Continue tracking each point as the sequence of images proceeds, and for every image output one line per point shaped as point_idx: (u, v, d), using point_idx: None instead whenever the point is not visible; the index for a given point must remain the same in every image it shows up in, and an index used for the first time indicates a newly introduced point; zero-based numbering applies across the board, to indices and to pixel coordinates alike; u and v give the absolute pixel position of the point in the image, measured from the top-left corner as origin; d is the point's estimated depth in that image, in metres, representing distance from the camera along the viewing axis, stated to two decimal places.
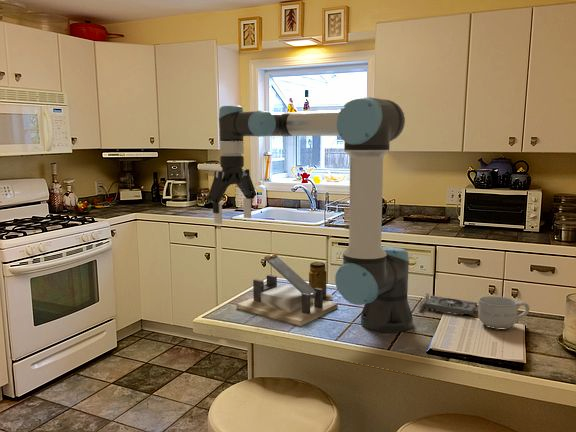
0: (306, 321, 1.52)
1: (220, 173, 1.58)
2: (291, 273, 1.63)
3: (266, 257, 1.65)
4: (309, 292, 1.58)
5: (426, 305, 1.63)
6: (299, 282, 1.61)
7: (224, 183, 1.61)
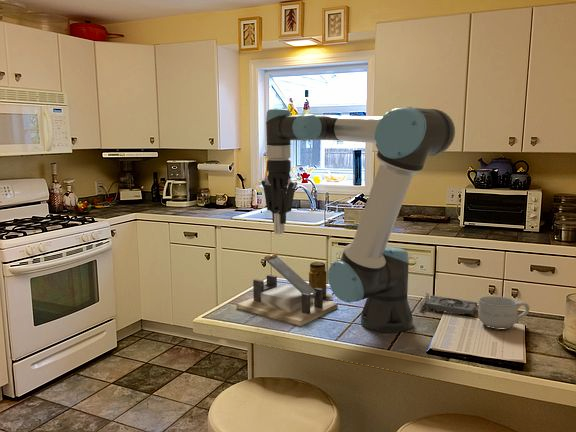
0: (306, 321, 1.52)
1: (262, 183, 1.64)
2: (291, 273, 1.63)
3: (266, 257, 1.65)
4: (309, 292, 1.58)
5: (426, 305, 1.63)
6: (299, 282, 1.61)
7: None
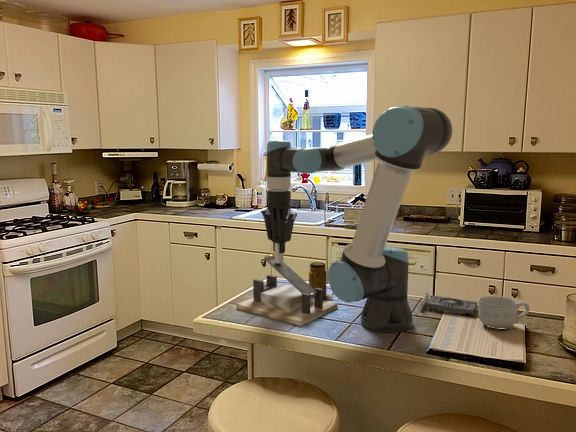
0: (306, 321, 1.52)
1: (262, 212, 1.65)
2: (291, 273, 1.63)
3: (266, 257, 1.65)
4: (309, 292, 1.58)
5: (427, 305, 1.63)
6: (299, 282, 1.61)
7: None
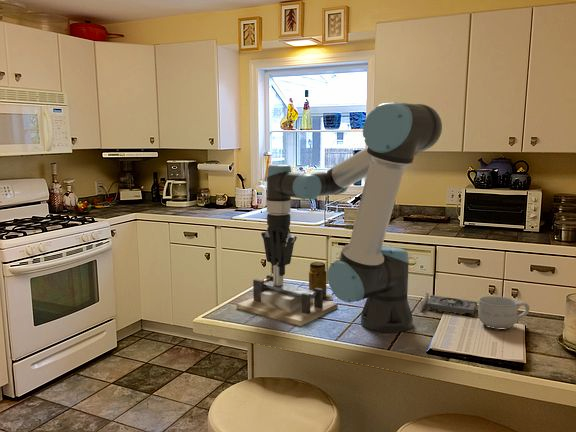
0: (306, 321, 1.52)
1: (262, 234, 1.67)
2: (287, 286, 1.65)
3: None
4: (308, 293, 1.59)
5: (427, 305, 1.63)
6: (296, 289, 1.62)
7: None
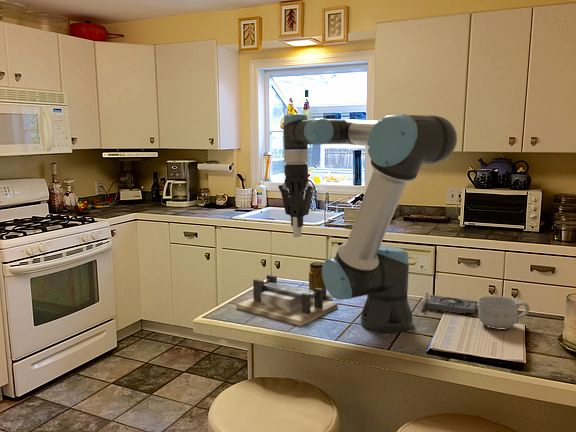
0: (306, 321, 1.52)
1: (279, 187, 1.66)
2: (287, 287, 1.65)
3: None
4: (308, 293, 1.59)
5: (428, 305, 1.63)
6: (296, 290, 1.62)
7: None
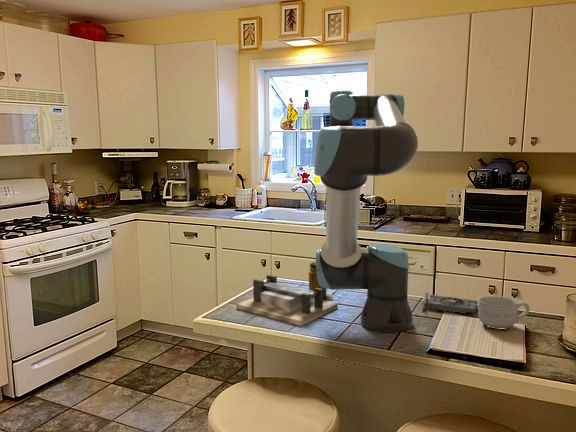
0: (306, 321, 1.52)
1: None
2: (287, 287, 1.65)
3: None
4: (308, 293, 1.59)
5: (428, 305, 1.63)
6: (296, 290, 1.62)
7: None
